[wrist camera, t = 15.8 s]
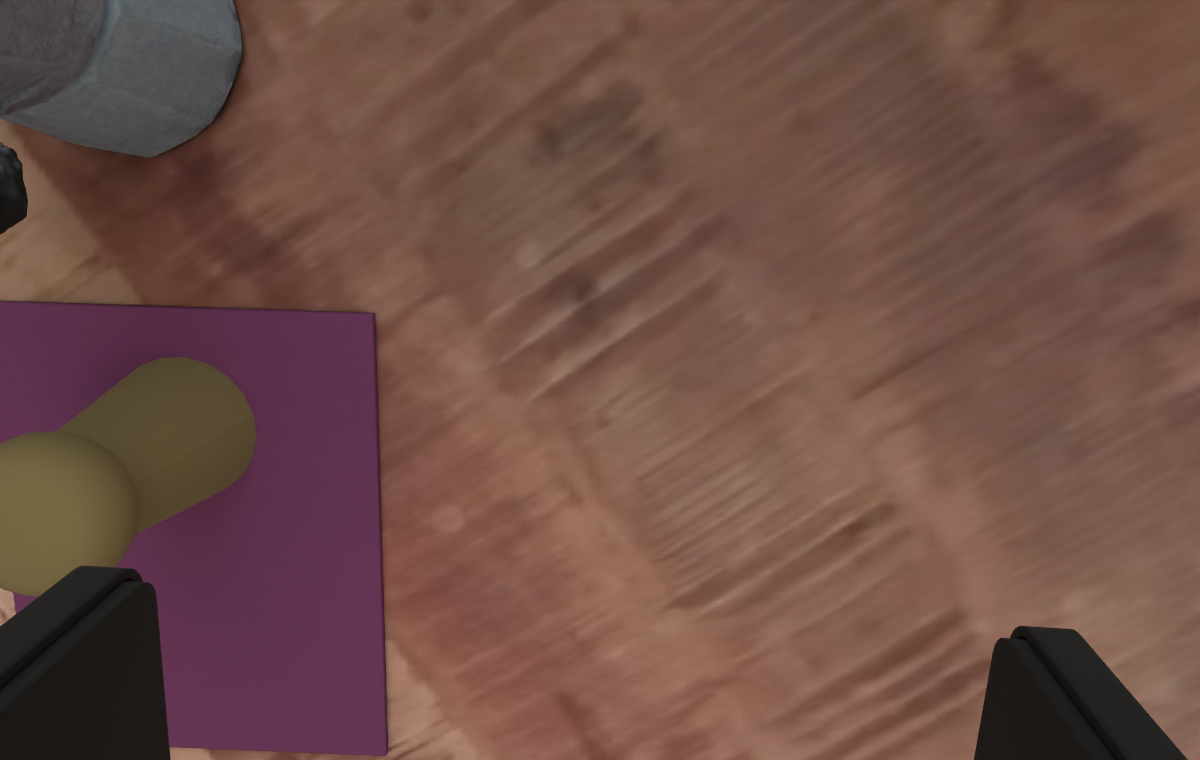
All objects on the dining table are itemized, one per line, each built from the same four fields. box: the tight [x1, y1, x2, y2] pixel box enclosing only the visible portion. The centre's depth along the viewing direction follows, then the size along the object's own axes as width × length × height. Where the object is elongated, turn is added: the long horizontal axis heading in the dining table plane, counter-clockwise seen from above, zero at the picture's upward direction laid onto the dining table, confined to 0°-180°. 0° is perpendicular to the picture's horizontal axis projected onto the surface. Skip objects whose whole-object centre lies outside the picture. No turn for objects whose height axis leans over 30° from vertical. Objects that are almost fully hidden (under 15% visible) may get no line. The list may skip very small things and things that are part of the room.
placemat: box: [0, 301, 388, 756], centre depth 40 cm, size 20×16×1 cm
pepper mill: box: [0, 357, 257, 597], centre depth 33 cm, size 6×6×11 cm
